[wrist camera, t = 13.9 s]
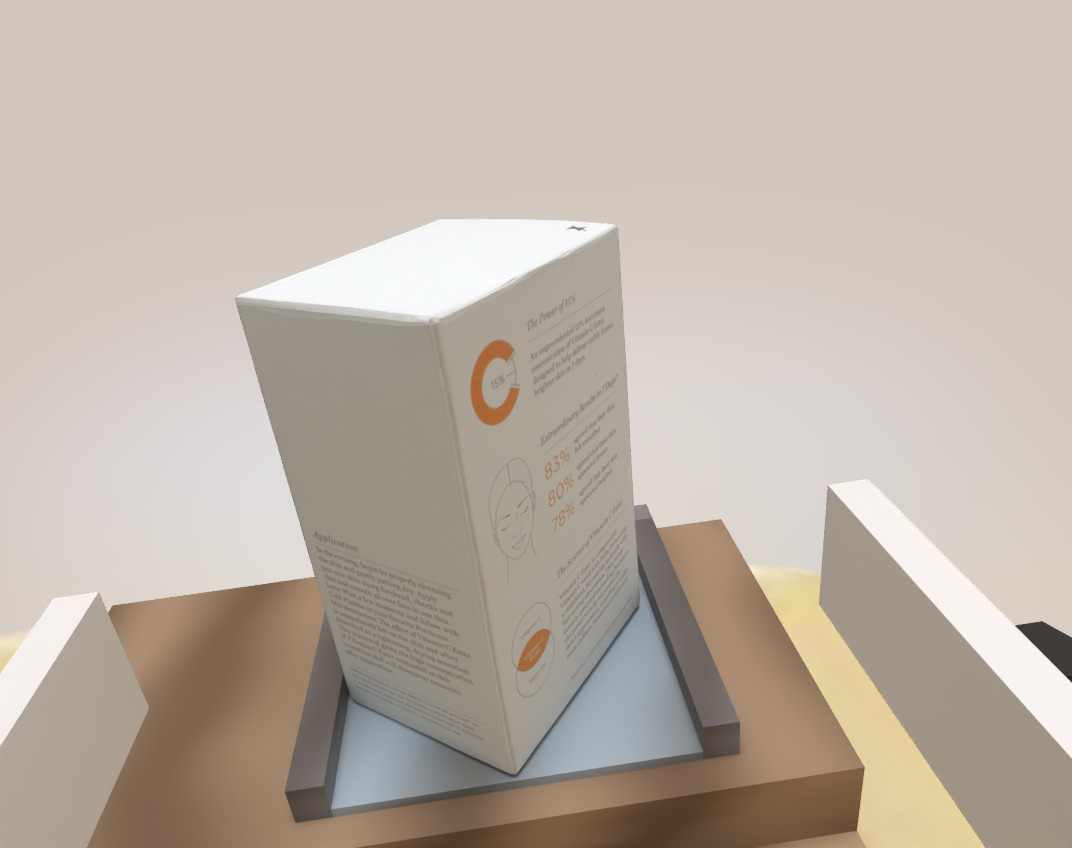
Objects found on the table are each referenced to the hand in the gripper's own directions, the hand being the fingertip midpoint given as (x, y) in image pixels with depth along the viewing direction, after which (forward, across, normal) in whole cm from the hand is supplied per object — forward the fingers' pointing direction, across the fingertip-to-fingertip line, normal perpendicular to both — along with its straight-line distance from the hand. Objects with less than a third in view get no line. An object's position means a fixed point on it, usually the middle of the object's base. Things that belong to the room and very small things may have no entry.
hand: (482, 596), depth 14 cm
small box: (+8, 0, -9) cm, 12 cm away
